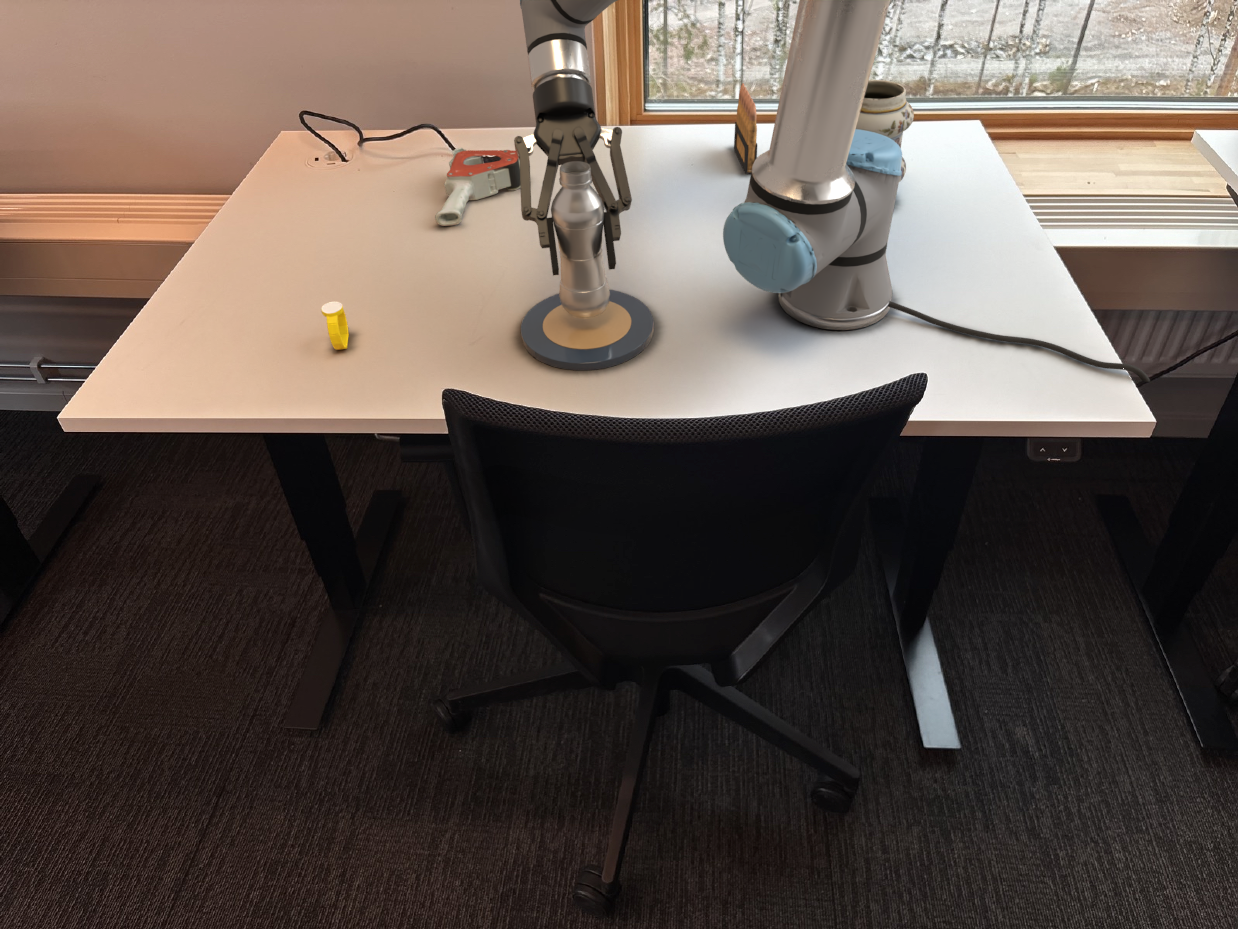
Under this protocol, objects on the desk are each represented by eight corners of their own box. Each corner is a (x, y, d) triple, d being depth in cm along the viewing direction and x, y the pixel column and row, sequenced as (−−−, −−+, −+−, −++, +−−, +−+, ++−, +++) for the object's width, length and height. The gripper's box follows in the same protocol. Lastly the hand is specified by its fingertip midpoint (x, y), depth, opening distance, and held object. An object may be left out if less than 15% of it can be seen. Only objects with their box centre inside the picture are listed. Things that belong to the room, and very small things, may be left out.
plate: (679, 320, 123) (679, 312, 122) (598, 387, 112) (597, 379, 112) (578, 282, 131) (577, 274, 130) (494, 341, 121) (492, 333, 120)
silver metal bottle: (605, 326, 117) (597, 181, 103) (555, 322, 118) (540, 177, 104) (615, 299, 121) (608, 157, 108) (566, 295, 123) (554, 154, 109)
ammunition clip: (733, 149, 163) (736, 81, 155) (743, 148, 163) (747, 80, 155) (745, 174, 155) (749, 104, 147) (756, 173, 155) (760, 103, 147)
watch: (335, 332, 124) (323, 295, 120) (355, 330, 124) (344, 293, 120) (330, 357, 120) (318, 319, 116) (351, 355, 120) (339, 317, 116)
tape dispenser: (445, 240, 145) (549, 197, 152) (438, 211, 141) (545, 168, 148) (399, 197, 155) (499, 158, 162) (391, 168, 152) (494, 130, 158)
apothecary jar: (823, 183, 151) (836, 73, 139) (897, 185, 149) (916, 74, 137) (824, 217, 142) (838, 103, 130) (902, 220, 141) (923, 104, 128)
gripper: (635, 95, 117) (657, 269, 116) (487, 108, 115) (508, 285, 114) (640, 67, 109) (664, 252, 108) (482, 81, 108) (504, 269, 107)
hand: (584, 269), depth 111 cm, fingers closed on silver metal bottle, 6 cm apart
